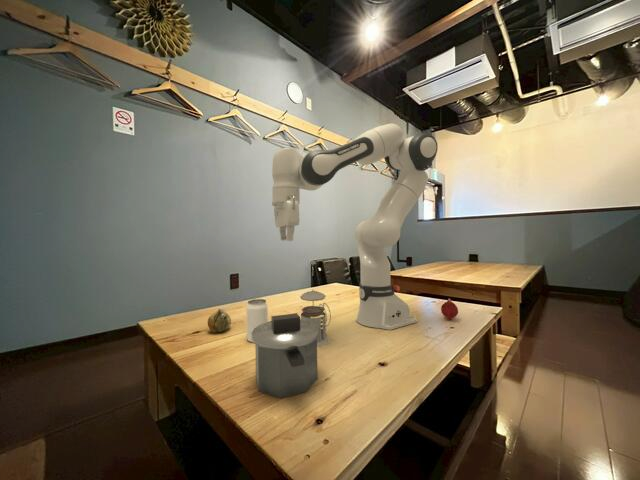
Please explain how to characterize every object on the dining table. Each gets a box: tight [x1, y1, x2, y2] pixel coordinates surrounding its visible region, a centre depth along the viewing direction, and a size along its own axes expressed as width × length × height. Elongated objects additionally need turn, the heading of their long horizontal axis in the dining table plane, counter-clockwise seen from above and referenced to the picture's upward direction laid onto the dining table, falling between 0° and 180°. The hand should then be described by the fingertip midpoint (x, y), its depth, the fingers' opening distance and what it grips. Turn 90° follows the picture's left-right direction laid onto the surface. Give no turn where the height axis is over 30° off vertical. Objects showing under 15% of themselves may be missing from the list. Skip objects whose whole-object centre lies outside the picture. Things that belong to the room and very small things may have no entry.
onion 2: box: [440, 298, 459, 321], centre depth 95 cm, size 6×6×8 cm
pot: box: [255, 339, 318, 399], centre depth 57 cm, size 13×21×10 cm, turn 20°
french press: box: [299, 259, 332, 347], centre depth 77 cm, size 10×12×25 cm
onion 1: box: [207, 308, 232, 333], centre depth 86 cm, size 8×8×8 cm
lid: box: [252, 312, 319, 350], centre depth 57 cm, size 15×15×4 cm
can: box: [246, 298, 269, 344], centre depth 79 cm, size 6×6×12 cm
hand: (286, 240), depth 82 cm, fingers open, 8 cm apart
